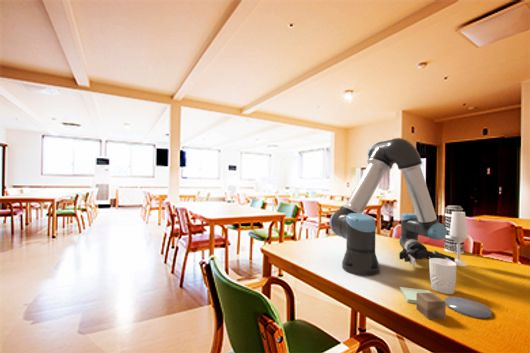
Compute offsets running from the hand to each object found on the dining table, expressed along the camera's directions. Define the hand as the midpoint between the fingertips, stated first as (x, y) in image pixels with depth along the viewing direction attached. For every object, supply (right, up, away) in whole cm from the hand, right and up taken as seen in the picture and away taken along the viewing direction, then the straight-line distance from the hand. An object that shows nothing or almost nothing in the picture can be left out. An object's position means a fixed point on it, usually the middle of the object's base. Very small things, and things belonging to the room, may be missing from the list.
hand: (433, 264), depth 93 cm
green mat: (-15, -6, -14) cm, 21 cm away
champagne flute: (+25, -7, +19) cm, 32 cm away
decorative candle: (+38, -7, +38) cm, 54 cm away
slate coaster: (-4, -6, -20) cm, 22 cm away
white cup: (-3, -6, -8) cm, 11 cm away
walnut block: (-18, -6, -24) cm, 30 cm away
